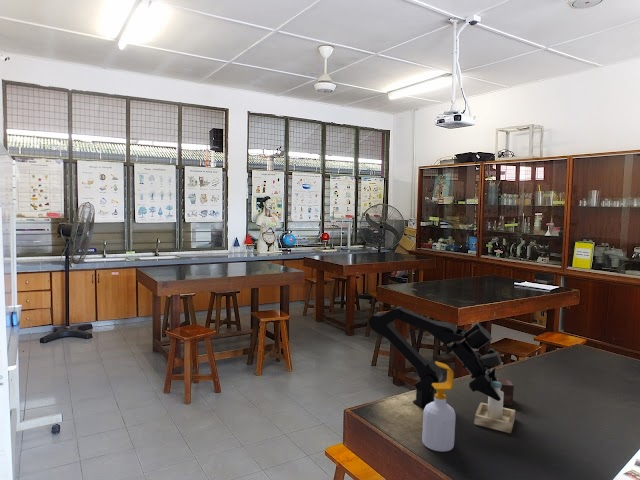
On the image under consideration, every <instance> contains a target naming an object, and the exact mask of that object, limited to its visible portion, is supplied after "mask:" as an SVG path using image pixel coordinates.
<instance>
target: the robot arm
mask: <svg viewBox="0 0 640 480" xmlns="http://www.w3.org/2000/svg"><path fill="white" fill-rule="evenodd" d="M397 320H399V321H401V322H404V323H406V324H408V325H411V326H412V327H416V328H418V329H420V330H422V331H425V332H427V333H429V334H430V335H431V336H432V337H434V338H435V339H436V340H438V342H441V343H443V344H446V346H445V347H446V351H445V355H449V354H450V353H451V352H452V354H454V355H455V357H456V358H457V359H458V360H459V361H460V362H461V363H462V365H461V367H462V368H463V369H466V370H467V371H468V373H470V378H471V380H470V381H469V383H468V388H469V389H470V390H471V391H472V392H479V393H481V394H484V395H485V396H487V397H488V396H489V397H491V398H493V399H495V400H497V401H500V400H501V398H500V397H499V395H498V393H497V392H496V390H495V389H494V387H493V386H492V381H497V382H498V379H497V378H498V377H497V374H496V373H497V366H500V365H502V362H503V361H502V359H501V354H500V353H499V351H496V349H494V348H491V349H488V352H487V353H486V354H485V355H482V354H481V353H479V352H476V351H475V349H476V350H480V349H481V348H482V347H483V346H485V345H487V344H488V343H489V342H491V341H492V340H493V337H492V335H491V333H490V332H489V331H488V330H487V329H486V328H485V327H484V326H482V325H480V323H477V322H476V323H475V324H474V325H473V327H471V328H469V329H468V330H466V329H463V328H461V327H460V328H459V327H457V326H456V325H455V324H454V323H451V322H446V321H440V320H439V321H438V320H434V319H431V318H428V317H426V316H423V315H421V314H419V313H416V312H414V311H411V310H410V309H409V310H408V309H406V308H405V307H403V306H400V305H399V306H397V307H395V308H393V309H391V310H388V311H386V312H383V311H380V312H377V313H376V314H373V315H371V316H370V318H369V319H368V326H369V328H370V329H371V330H372V331H373V332H375V333H376V334H377V335H379V336H381V337H384V338H385V339H387V341H388V342H389V343H390V344H391V345H393V347H394V349H396V350H397V351H398V352H399V353H400V354H401V356H403V358H404V359H405V360H407V361H408V362H409V363H410V364H411V365H412V367H413V368H414V369H415V371H416V373H417V376H418V378H419V379H418V381H417V382H415V384H414V387H415V391H416V392H415V400H412V403H413V404H415V405H417V406H418V407H420V408H421V409H423V410H424V408H425V406H426V405H427V404H429V403H431V402H434V396H435V394H436V393H438V391H437V390H436V389H434V387H433V386H432V383H441V381H442V379H443V378H444V377H443V376H444V375H443V373H444V372H443V371H442V368H441V367H439V366H438V365H437V364H436V363H435V361H436V360H435V359H433V358H431V359H430V360H428V359H426V358H424V356H422V354H420V353H419V352H418V351H417V349H415V348H414V347H413V346H412V345H411V343H409V341H407V339H406V338H405V337H403V335H402V334H401V333H400V332H399V331H398V330H397V329H396V327H395V324H394V321H397ZM492 368H493V369H492ZM500 390H501V391H503V390H502V388H500Z"/></svg>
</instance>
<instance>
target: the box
mask: <svg viewBox="0 0 640 480" xmlns="http://www.w3.org/2000/svg"><path fill="white" fill-rule="evenodd" d="M497 379H498V382H500V383H502V386H501V388H502V390H503V392H504V398H503V405H508V406H513V404H514V389H515V387H514V386H515V385H514V383H513V382H512V380H511V379H509V378H498V377H497Z"/></svg>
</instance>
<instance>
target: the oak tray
mask: <svg viewBox="0 0 640 480" xmlns="http://www.w3.org/2000/svg"><path fill="white" fill-rule="evenodd" d="M487 412H488V403H484V402H479V405H478V407H477V409H476V412H475V414H474V423H473V424H474V425H477V426H481V427H485V428H488V429H493V430H496V431H500V432H504V433H508V434H512V431H513V428H514V427H513V426H514V423H515V419H516V409H511V408H507V407H503V415H502V420H498V419H494V418H490V417H487Z"/></svg>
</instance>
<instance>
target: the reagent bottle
mask: <svg viewBox="0 0 640 480" xmlns="http://www.w3.org/2000/svg"><path fill="white" fill-rule="evenodd" d="M492 386H493V387H494V389H495V390H496V392H497V393H498V395H499V397H500V398H501V400H500V401H497V400H495V399H493V398H491V397H489V396H487V398H488V399H487V404H488V412H487V417H490V418H494V419H498V420H502V415H503V408H504V404H503V398H504V392H503V391H501V390H500V388H501V386H502V383H500V382H497V381H492Z"/></svg>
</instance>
